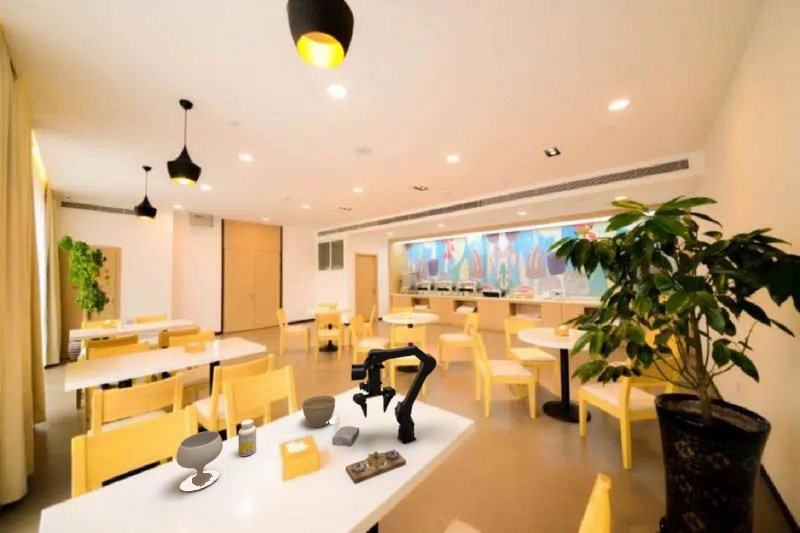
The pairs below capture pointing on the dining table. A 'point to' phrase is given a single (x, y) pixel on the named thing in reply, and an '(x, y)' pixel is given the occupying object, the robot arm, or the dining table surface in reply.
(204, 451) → the chalice
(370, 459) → the wooden gear
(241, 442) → the supplement bottle
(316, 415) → the planter bowl
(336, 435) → the stone block
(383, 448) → the dining table surface
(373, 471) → the gear board
